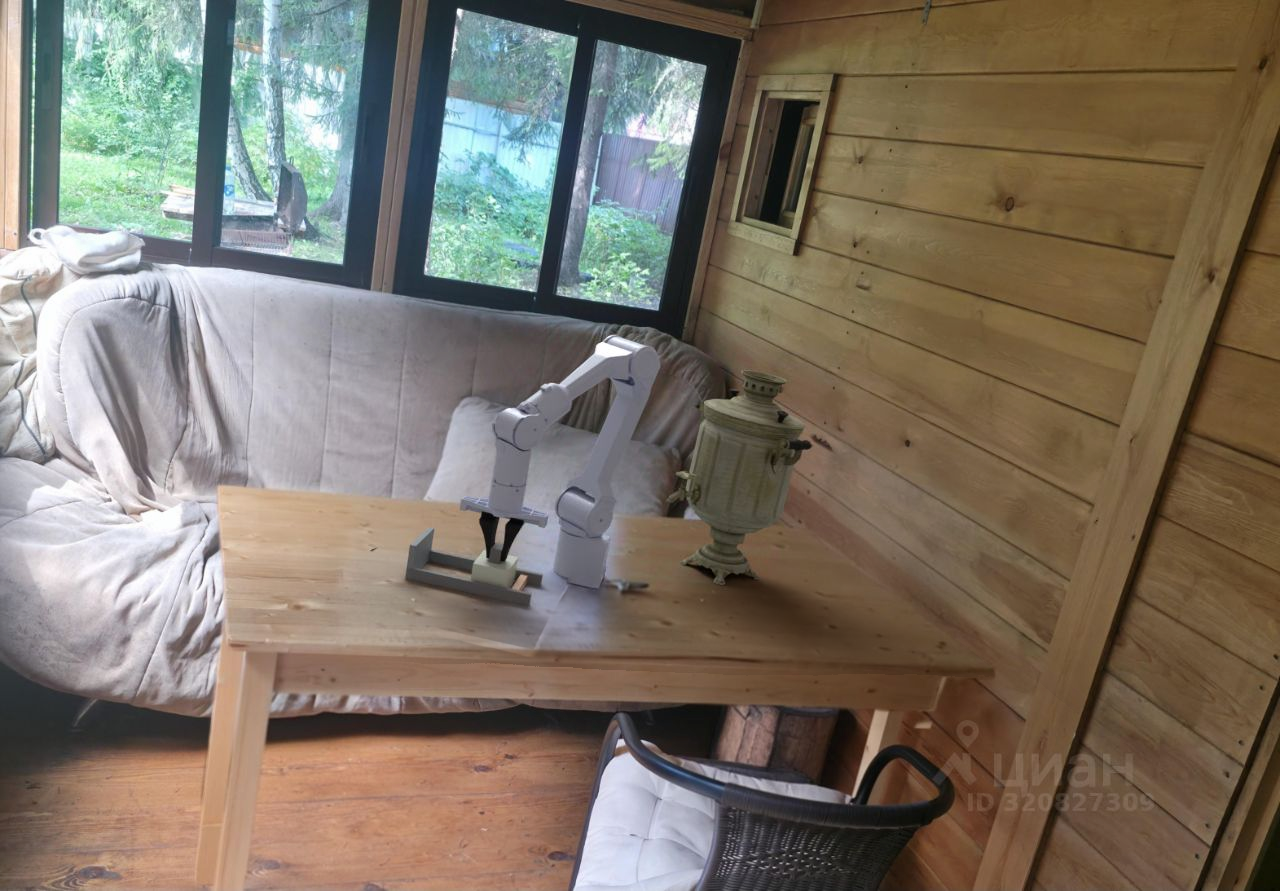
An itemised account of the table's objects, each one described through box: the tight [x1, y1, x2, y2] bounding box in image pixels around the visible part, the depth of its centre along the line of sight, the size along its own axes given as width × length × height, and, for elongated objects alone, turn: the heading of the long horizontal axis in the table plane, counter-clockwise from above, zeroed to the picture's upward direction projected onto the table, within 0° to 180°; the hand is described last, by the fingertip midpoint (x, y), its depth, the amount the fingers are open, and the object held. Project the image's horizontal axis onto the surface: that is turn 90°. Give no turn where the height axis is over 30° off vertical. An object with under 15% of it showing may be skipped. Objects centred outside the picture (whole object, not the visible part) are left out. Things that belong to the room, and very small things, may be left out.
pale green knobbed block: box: [470, 541, 519, 588], centre depth 169 cm, size 6×7×7 cm
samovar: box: [666, 369, 814, 585], centre depth 195 cm, size 30×26×40 cm
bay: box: [404, 526, 544, 607], centre depth 169 cm, size 21×12×7 cm, turn 83°
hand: (496, 558), depth 169 cm, fingers closed on pale green knobbed block, 2 cm apart
